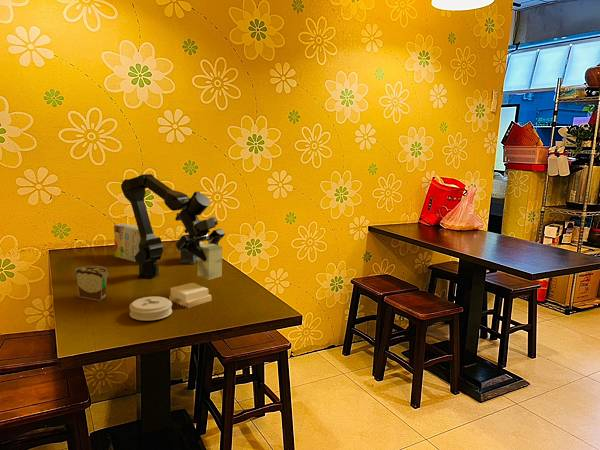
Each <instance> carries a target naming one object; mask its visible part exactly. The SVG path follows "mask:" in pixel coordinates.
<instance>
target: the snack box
mask: <svg viewBox="0 0 600 450" xmlns="http://www.w3.org/2000/svg"><path fill="white" fill-rule="evenodd" d="M152 230H153V234H154V235H155V229H153V228H152ZM113 232H114V234H113V235H114V236H113V237H114V240H113V241H114V257H115V258H119V259H122V260H126V261H130V262H134V263H137V264H139V263H138V262H136V261H135V256H136V254H137V253H138V252H139V242H140V239H141V237H140V233H139V230H138V226H137V225H132V224H128V223H118V224H114V225H113Z"/></svg>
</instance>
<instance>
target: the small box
mask: <svg viewBox="0 0 600 450" xmlns="http://www.w3.org/2000/svg"><path fill="white" fill-rule="evenodd" d="M199 243H200V245H204V244H203V243H204V241H202V242H199ZM186 248H187V247H186ZM186 248H185V249H186ZM196 263H198V257H197V256H196V255H194V254H192V253H190V252H188V251H185V250H180V264H186V265H194V264H196Z"/></svg>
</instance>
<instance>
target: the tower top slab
mask: <svg viewBox="0 0 600 450" xmlns="http://www.w3.org/2000/svg"><path fill="white" fill-rule="evenodd" d="M208 294H209V288H207V287H205V286H202V285H200V284H197V283H195V282H189V283H185V284H182V285H178V286H173V287H171V288H170V295H172V296H174V297H176V298H179V299H181V300H183V301H185V302H188V301H191V300H195V299H199V298H202V297H206V296H208Z"/></svg>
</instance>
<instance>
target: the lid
mask: <svg viewBox="0 0 600 450" xmlns="http://www.w3.org/2000/svg"><path fill="white" fill-rule="evenodd" d="M172 307H173V302H172V301H170V300H169V299H168V298H167V297H163V296H159V295H158V296H156V295H154V296H153V295H151V296H144V297H141V298H137V299H135V300H134V301H132V302H131V303H130V304H129V310H130V311H129V316H130V317H131V318H132V319H134V320H137V321H156V320H160V319H161V320H162V319H165V318H166V317H169V316H170V315H172V314H173V309H172Z"/></svg>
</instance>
